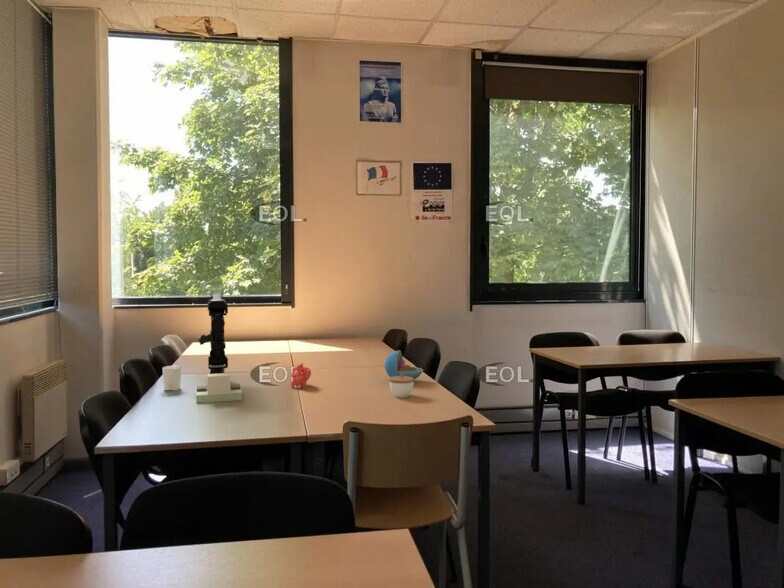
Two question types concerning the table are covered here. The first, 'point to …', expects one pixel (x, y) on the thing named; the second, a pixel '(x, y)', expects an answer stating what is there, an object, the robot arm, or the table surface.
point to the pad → (218, 396)
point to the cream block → (219, 383)
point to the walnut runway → (205, 387)
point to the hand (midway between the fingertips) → (217, 361)
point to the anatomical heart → (299, 378)
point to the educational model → (400, 366)
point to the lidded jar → (401, 385)
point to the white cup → (171, 377)
